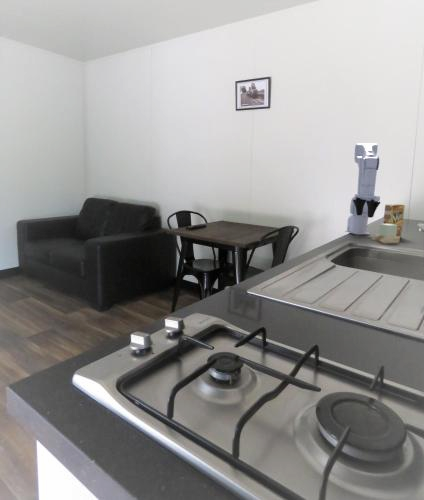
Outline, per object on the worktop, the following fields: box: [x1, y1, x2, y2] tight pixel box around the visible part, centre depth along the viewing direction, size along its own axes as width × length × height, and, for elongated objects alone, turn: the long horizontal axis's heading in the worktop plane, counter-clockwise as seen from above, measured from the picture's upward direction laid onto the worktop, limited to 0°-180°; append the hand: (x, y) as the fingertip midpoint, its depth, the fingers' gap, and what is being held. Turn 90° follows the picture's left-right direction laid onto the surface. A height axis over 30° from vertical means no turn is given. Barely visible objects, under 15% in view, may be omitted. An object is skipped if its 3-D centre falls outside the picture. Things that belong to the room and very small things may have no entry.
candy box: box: [382, 203, 406, 238], centre depth 175 cm, size 9×4×15 cm, turn 118°
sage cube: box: [378, 223, 397, 237], centre depth 164 cm, size 5×5×5 cm
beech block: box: [374, 233, 401, 244], centre depth 165 cm, size 7×7×3 cm
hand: (364, 216), depth 167 cm, fingers open, 7 cm apart
